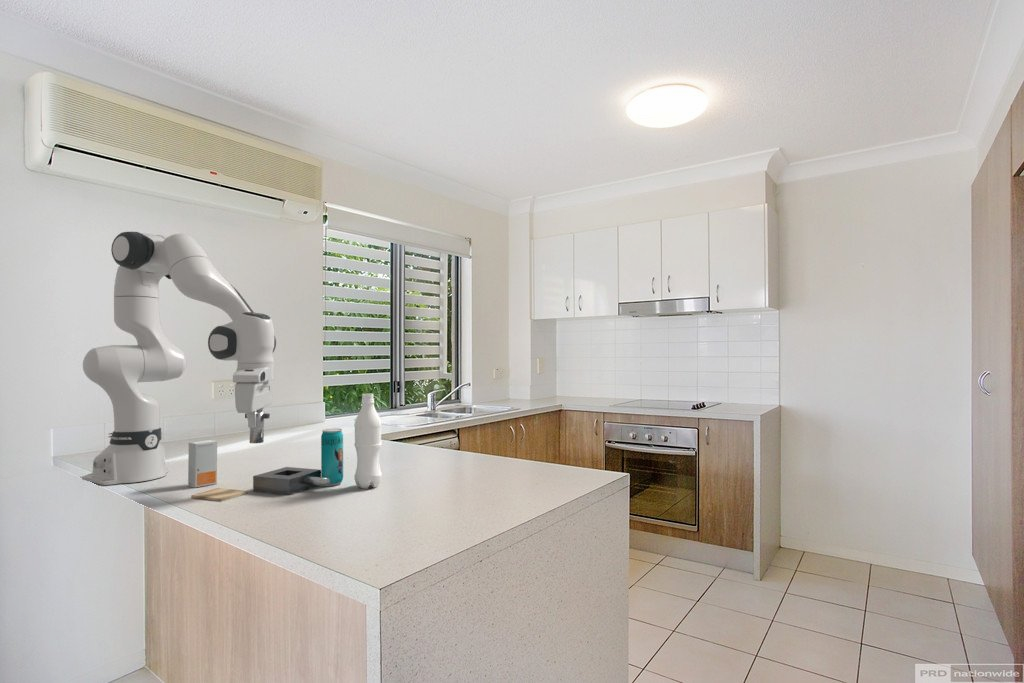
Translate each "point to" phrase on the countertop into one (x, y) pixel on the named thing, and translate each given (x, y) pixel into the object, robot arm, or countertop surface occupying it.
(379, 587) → the countertop surface
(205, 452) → the skincare box
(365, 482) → the water bottle
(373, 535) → the countertop surface
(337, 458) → the beverage can
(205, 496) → the pad
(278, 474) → the grey handled square frame
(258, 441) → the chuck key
